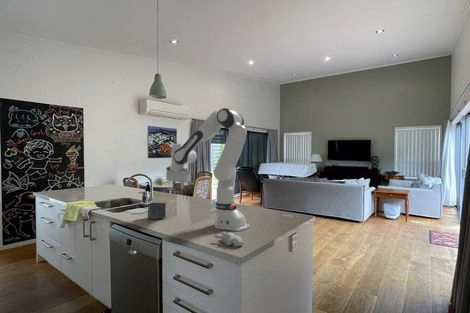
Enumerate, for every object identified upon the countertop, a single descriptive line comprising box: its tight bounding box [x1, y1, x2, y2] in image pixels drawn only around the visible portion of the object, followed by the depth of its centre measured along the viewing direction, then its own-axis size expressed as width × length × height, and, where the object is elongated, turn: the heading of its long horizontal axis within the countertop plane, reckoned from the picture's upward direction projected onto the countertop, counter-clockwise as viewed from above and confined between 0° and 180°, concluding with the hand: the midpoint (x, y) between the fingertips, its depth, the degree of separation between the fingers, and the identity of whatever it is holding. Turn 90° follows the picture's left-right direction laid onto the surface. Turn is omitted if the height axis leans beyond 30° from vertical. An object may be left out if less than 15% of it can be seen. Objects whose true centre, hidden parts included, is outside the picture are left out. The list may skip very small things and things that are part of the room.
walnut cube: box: [172, 182, 184, 192], centre depth 185 cm, size 5×5×5 cm
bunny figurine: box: [214, 231, 244, 248], centre depth 134 cm, size 10×5×15 cm
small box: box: [147, 202, 167, 221], centre depth 183 cm, size 11×6×10 cm, turn 84°
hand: (178, 188), depth 185 cm, fingers closed on walnut cube, 5 cm apart
